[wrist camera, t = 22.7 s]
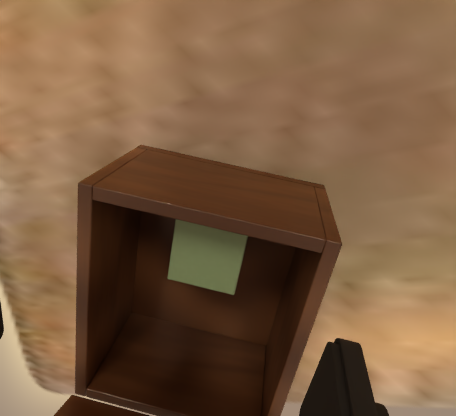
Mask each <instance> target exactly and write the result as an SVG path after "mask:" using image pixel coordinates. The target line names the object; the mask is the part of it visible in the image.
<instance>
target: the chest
mask: <svg viewBox="0 0 456 416" xmlns="http://www.w3.org/2000/svg"><path fill="white" fill-rule="evenodd" d="M175 219H177V220H181V221H186V222H190V223H194V224H198V225H203V226H207V227H211V228H216V229H220V230H224V231H228V232H233V233H237V234H241V235H246V236H248V239H247V243H246V248H245V252H244V256H243V260H242V265H241V269H240V273H239V277H238V282H237V286H236V290H235V294H234V295H231V294H227V293H223V292H219V291H215V290H211V289H207V288H203V287H198V286H194V285H190V284H186V283H182V282H178V281H174V280H170V279H168V278H167V277H168V270H169V263H170V255H171V248H172V241H173V234H174V227H175ZM341 246H342V242H341V239H340V235H339V232H338V229H337V226H336V222H335V219H334V216H333V213H332V210H331V206H330V203H329V200H328V197H327V193H326V190H325V187H324V185H320V184H315V183H311V182H306V181H302V180H297V179H293V178H288V177H284V176H279V175H275V174H270V173H266V172H261V171H257V170H252V169H248V168H243V167H239V166H234V165H230V164H225V163H221V162H216V161H212V160H207V159H203V158H198V157H194V156H189V155H185V154H180V153H175V152H171V151H166V150H162V149H157V148H153V147H148V146H144V145H140V146H138V147H137V148H135V149H134V150H132V151H130V152H129V153H127V154H125V155H124V156H122V157H120V158H119V159H117V160H115V161H114V162H112V163H110V164H109V165H107V166H105V167H104V168H102V169H100V170H99V171H97V172H95V173H94V174H92V175H90V176H89V177H87V178H85V179H84V180H82V181H80V182H79V183H78V223H77V294H76V364H75V393H76V394H79V395H82V396H87V397H89V398H93V399H97V400H101V401H104V402H108V403H112V404H116V405H119V406H123V407H127V408H130V409H134V410H138V411H142V412H145V413H149V414H153V415H156V416H280V415H281V413H282V410H283V407H284V404H285V402H286V399H287V396H288V393H289V390H290V388H291V385H292V382H293V379H294V377H295V374H296V371H297V368H298V366H299V363H300V360H301V357H302V354H303V352H304V349H305V346H306V343H307V341H308V338H309V335H310V332H311V329H312V327H313V324H314V321H315V318H316V316H317V313H318V310H319V307H320V304H321V302H322V299H323V296H324V293H325V291H326V288H327V285H328V282H329V279H330V277H331V274H332V271H333V268H334V266H335V263H336V260H337V257H338V254H339V252H340V249H341Z"/></svg>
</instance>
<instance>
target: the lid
mask: <svg viewBox="0 0 456 416" xmlns="http://www.w3.org/2000/svg"><path fill="white" fill-rule="evenodd" d="M54 416H149V415H145V414H141V413H138V412H134V411H130V410H127V409H123V408H119V407H115V406H112V405H108V404H104V403H101V402H97V401H93V400H89V399H86V398H82V397H78V396H75V395H71V397H70V398H69V399H68V400H67V401H66V402H65V403H64V405H63V406H62V407H61V408H60V409H59V410H58V412H57V413H56V414H55V415H54Z"/></svg>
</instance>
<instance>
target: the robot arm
mask: <svg viewBox="0 0 456 416" xmlns="http://www.w3.org/2000/svg"><path fill="white" fill-rule="evenodd" d="M3 331H4V327H3V319H2V311H1V303H0V339H1V337H2V335H3ZM299 416H389V414H388V412H387V409H386V408H385V406H384V405H382V404H379V403H375V401H374V397H373V393H372V389H371V385H370V380H369V376H368V372H367V368H366V364H365V360H364V356H363V352H362V348H361V345H360V344H359V343H356V342H352V341H348V340H344V339H340V338H337V339H336V340H335V341H334V343H332V342H328V343H327V345H326V347H325V349H324V352H323V354H322V357H321V359H320V361H319V364H318V366H317V369H316V371H315V374H314V376H313V379H312V381H311V383H310V386H309V388H308V391H307V393H306V396H305V398H304V401H303V403H302V405H301V409H300V414H299Z"/></svg>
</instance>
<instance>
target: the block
mask: <svg viewBox="0 0 456 416" xmlns="http://www.w3.org/2000/svg"><path fill="white" fill-rule="evenodd" d="M247 239H248V236H246V235H241V234H237V233H233V232H228V231H224V230H220V229H216V228H211V227H207V226H203V225H198V224H194V223H190V222H186V221H181V220H177V219H175V227H174V234H173V241H172V248H171V255H170V263H169V270H168V277H167V278H168V279H170V280H174V281H178V282H182V283H186V284H190V285H194V286H198V287H203V288H207V289H211V290H215V291H219V292H223V293H227V294H231V295H234V294H235V290H236V286H237V282H238V277H239V273H240V269H241V265H242V260H243V256H244V252H245V248H246V243H247Z"/></svg>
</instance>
